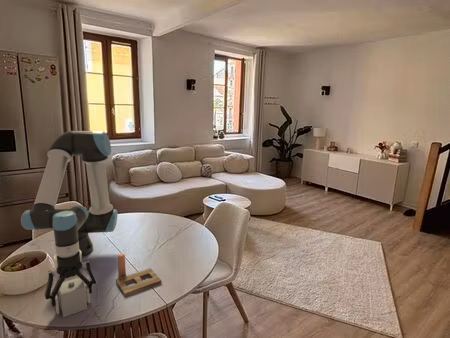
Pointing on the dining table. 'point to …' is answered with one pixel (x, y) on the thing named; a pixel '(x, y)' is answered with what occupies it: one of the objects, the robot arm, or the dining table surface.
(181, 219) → the dining table surface
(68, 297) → the block
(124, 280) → the board
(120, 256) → the peg
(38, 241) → the dining table surface
